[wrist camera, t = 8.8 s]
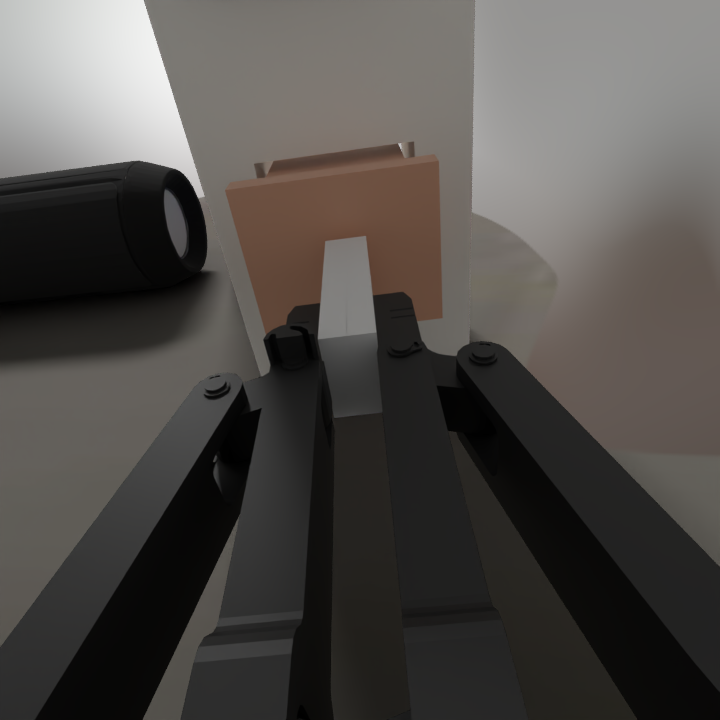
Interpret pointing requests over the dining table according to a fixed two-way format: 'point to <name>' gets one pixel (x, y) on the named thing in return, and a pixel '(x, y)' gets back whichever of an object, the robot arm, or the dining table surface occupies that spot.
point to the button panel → (326, 110)
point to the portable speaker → (98, 232)
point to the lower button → (341, 226)
